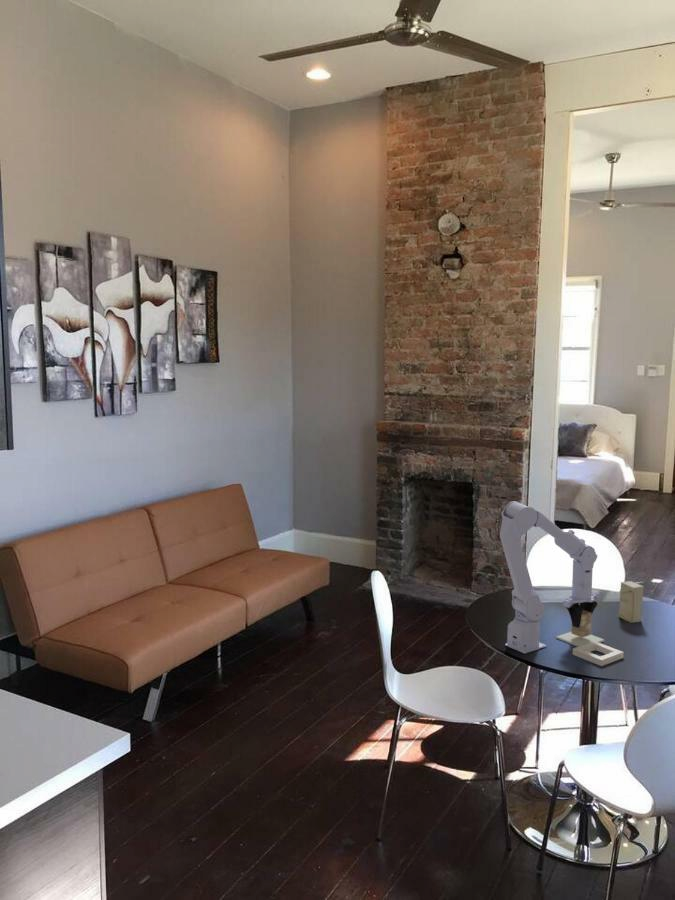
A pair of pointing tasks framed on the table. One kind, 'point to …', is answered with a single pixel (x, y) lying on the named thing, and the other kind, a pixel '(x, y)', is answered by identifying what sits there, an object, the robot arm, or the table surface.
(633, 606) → the skincare box
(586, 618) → the birch block
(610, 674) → the table surface
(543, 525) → the robot arm
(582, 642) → the tile
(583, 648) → the holder
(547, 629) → the table surface
